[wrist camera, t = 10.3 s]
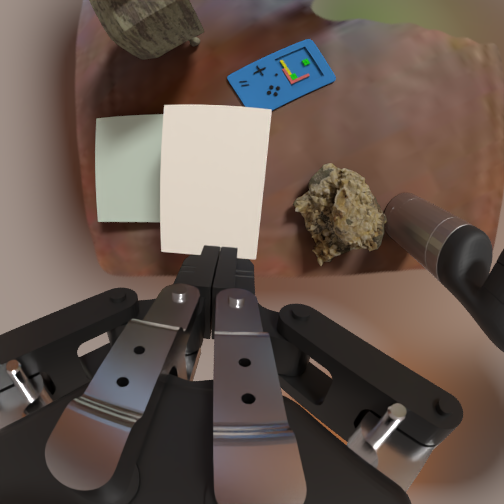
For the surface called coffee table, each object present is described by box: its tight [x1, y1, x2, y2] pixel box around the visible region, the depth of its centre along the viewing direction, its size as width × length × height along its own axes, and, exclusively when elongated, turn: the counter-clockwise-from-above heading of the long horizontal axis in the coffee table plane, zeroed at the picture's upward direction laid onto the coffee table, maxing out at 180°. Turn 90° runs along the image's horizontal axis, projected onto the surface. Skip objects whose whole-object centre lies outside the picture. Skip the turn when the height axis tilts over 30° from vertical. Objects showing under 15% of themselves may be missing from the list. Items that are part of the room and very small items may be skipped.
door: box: [95, 114, 163, 222], centre depth 40 cm, size 2×17×14 cm
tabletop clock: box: [89, 0, 204, 60], centre depth 20 cm, size 14×9×25 cm, turn 27°
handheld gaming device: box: [227, 39, 336, 110], centre depth 35 cm, size 8×1×15 cm
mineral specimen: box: [293, 163, 387, 266], centre depth 40 cm, size 14×13×10 cm
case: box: [160, 105, 272, 259], centre depth 36 cm, size 12×18×12 cm, turn 175°
